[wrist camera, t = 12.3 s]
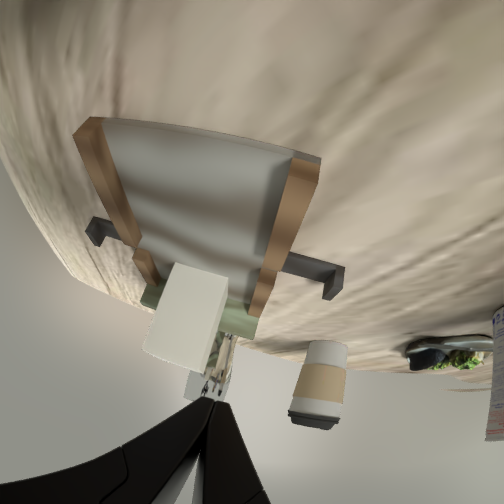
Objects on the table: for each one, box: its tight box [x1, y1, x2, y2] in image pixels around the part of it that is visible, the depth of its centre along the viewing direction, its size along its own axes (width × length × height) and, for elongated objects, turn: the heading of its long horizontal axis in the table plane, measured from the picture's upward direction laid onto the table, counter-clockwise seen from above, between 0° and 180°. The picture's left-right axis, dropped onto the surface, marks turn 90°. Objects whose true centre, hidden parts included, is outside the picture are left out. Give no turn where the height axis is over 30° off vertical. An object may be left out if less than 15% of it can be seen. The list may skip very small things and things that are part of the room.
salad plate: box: [405, 335, 493, 371], centre depth 33 cm, size 19×18×5 cm
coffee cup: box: [288, 340, 348, 430], centre depth 42 cm, size 9×9×15 cm
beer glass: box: [184, 330, 239, 402], centre depth 46 cm, size 7×7×15 cm
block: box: [142, 262, 228, 374], centre depth 30 cm, size 6×6×10 cm
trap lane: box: [72, 117, 345, 340], centre depth 25 cm, size 26×26×5 cm
